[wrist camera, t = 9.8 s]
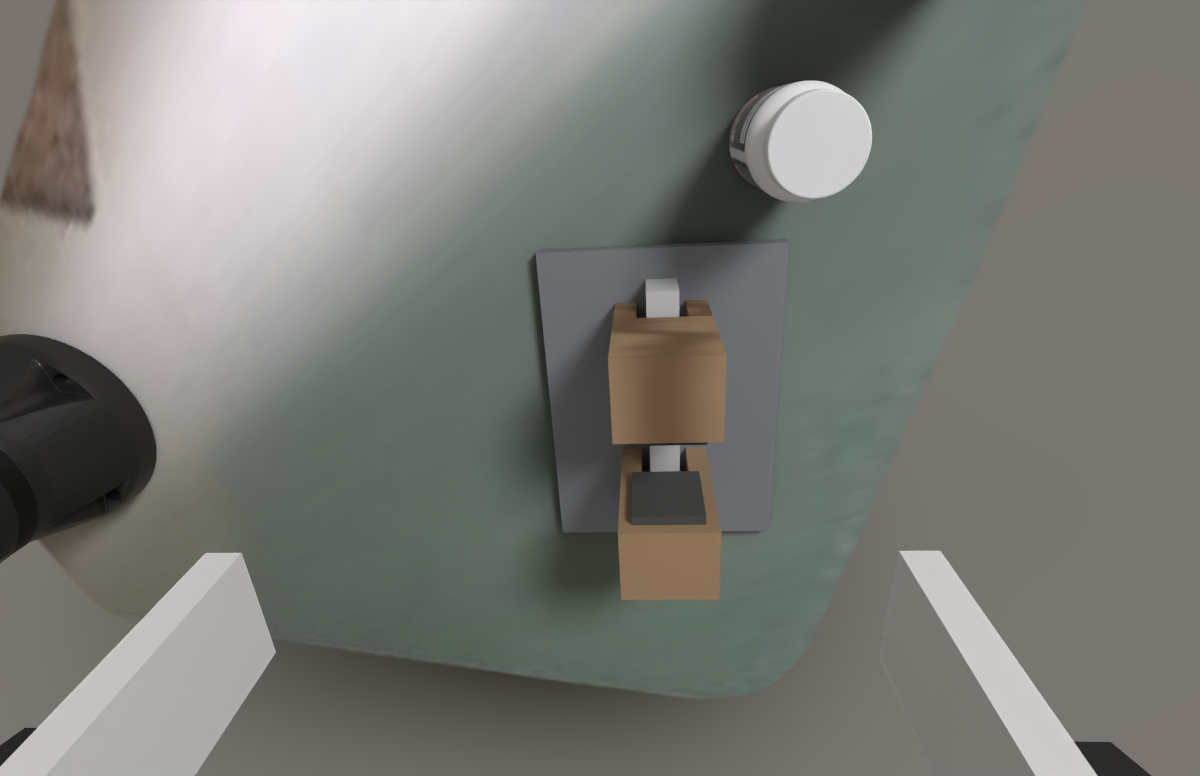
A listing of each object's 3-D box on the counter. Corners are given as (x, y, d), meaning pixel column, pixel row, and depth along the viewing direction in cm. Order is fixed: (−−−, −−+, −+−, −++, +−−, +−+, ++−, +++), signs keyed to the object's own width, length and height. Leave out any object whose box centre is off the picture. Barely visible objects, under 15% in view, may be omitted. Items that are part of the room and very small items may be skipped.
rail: (564, 524, 50) (544, 629, 40) (537, 250, 41) (504, 295, 31) (767, 523, 48) (800, 631, 38) (786, 239, 39) (835, 283, 29)
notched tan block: (618, 380, 43) (613, 453, 34) (615, 303, 41) (607, 358, 32) (705, 378, 43) (723, 451, 33) (707, 299, 40) (726, 355, 31)
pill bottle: (832, 170, 38) (893, 190, 29) (740, 201, 39) (770, 229, 30) (814, 70, 35) (874, 57, 26) (717, 105, 36) (742, 103, 27)
